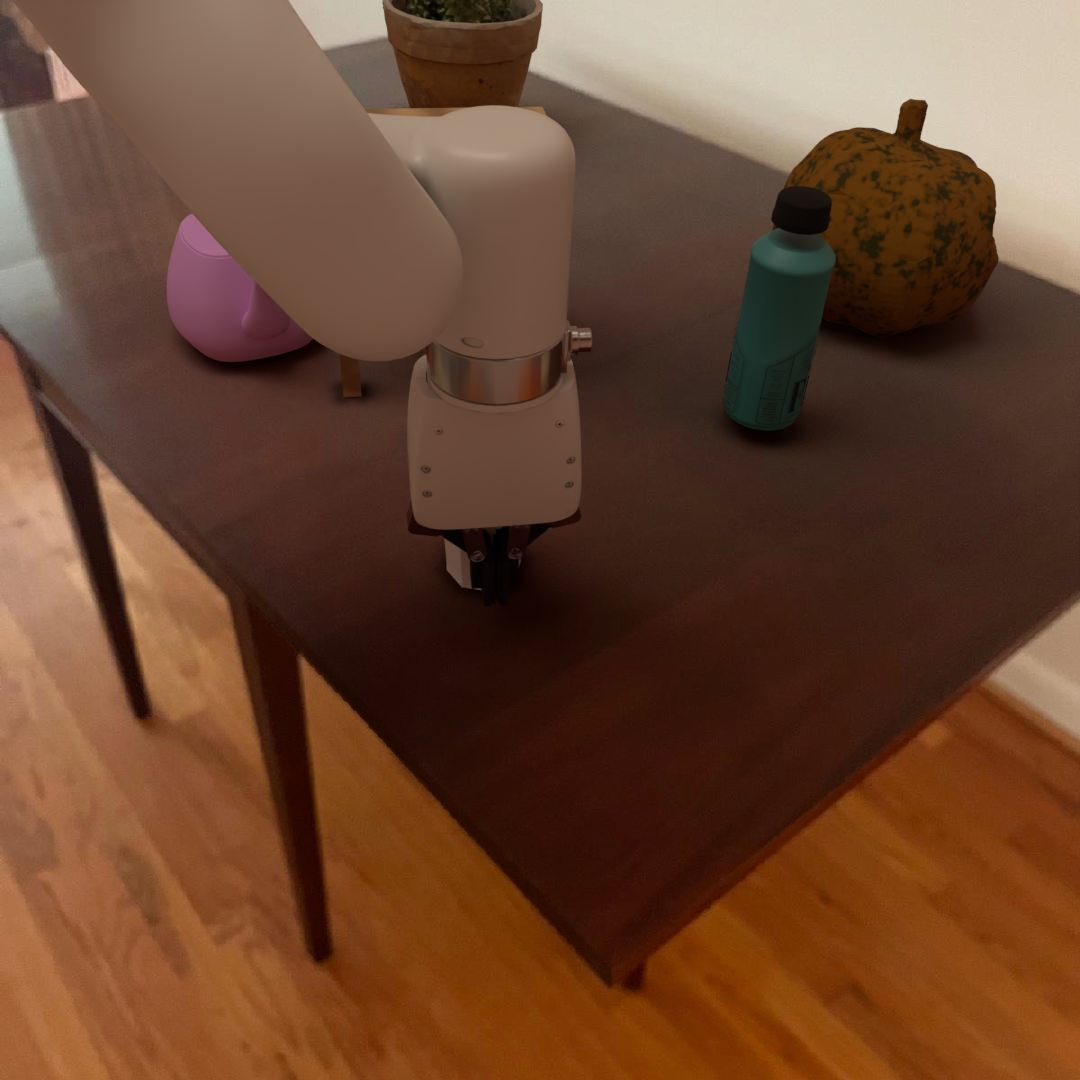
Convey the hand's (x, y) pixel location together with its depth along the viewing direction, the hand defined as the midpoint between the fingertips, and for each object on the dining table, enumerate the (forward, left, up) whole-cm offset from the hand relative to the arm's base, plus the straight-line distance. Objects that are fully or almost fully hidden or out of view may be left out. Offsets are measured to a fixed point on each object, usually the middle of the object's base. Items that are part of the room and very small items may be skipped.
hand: (493, 590), depth 69 cm
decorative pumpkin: (+42, +37, -2) cm, 56 cm away
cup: (0, +4, -2) cm, 5 cm away
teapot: (-17, +36, -2) cm, 40 cm away
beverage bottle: (+25, +19, -2) cm, 31 cm away
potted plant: (+7, +82, -2) cm, 82 cm away
